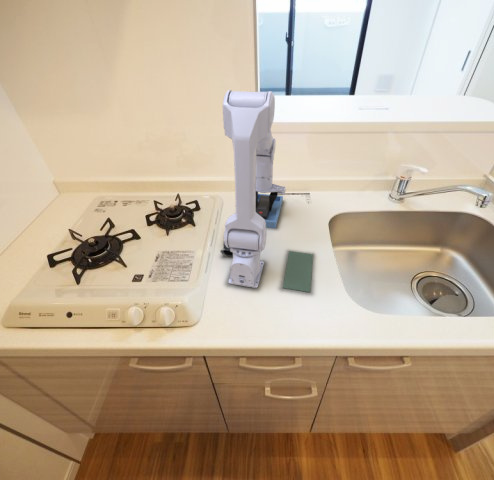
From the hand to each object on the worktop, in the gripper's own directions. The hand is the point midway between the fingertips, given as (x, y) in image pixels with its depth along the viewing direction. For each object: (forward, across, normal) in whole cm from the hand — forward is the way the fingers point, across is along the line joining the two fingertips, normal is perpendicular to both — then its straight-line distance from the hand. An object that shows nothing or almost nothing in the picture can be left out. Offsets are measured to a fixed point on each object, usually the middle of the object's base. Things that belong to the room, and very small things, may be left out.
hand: (263, 209), depth 93 cm
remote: (+1, 0, 0) cm, 1 cm away
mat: (+1, -15, +26) cm, 30 cm away
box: (+1, 0, 0) cm, 1 cm away
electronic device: (+2, +4, +17) cm, 18 cm away
